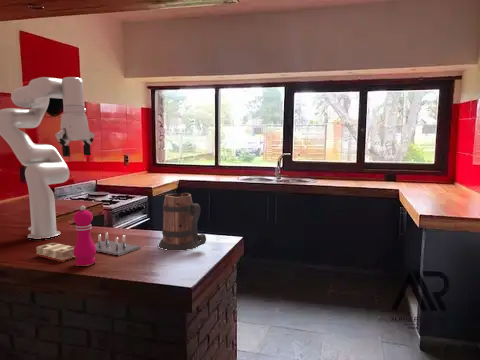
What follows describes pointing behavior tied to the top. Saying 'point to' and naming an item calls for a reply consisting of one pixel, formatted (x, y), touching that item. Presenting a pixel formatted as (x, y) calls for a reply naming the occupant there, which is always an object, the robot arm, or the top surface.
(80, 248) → the pepper mill
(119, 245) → the chassis
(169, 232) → the tankard
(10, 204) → the top surface
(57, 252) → the tan rectangular block
